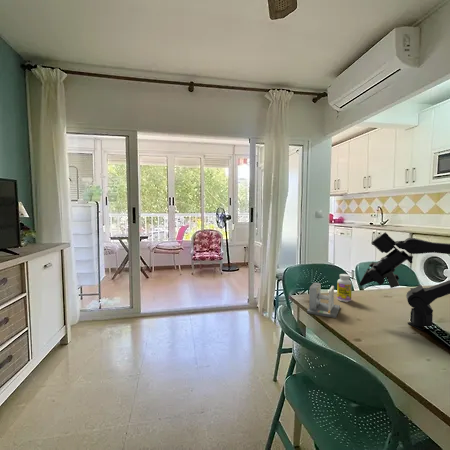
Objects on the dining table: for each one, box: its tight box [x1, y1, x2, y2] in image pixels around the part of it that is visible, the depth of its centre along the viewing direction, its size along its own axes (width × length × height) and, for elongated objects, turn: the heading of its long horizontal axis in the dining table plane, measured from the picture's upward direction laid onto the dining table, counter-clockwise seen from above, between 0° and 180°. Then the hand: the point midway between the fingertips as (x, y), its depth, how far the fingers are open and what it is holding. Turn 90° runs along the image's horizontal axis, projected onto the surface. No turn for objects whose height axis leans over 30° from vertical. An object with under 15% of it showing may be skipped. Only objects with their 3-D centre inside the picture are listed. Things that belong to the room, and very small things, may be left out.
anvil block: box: [308, 282, 322, 311], centre depth 123 cm, size 3×10×10 cm, turn 150°
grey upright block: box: [318, 285, 335, 313], centre depth 120 cm, size 8×11×9 cm, turn 150°
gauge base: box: [306, 301, 341, 319], centre depth 121 cm, size 12×14×1 cm
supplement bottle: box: [336, 273, 353, 303], centre depth 135 cm, size 7×7×13 cm
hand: (360, 284), depth 113 cm, fingers closed
